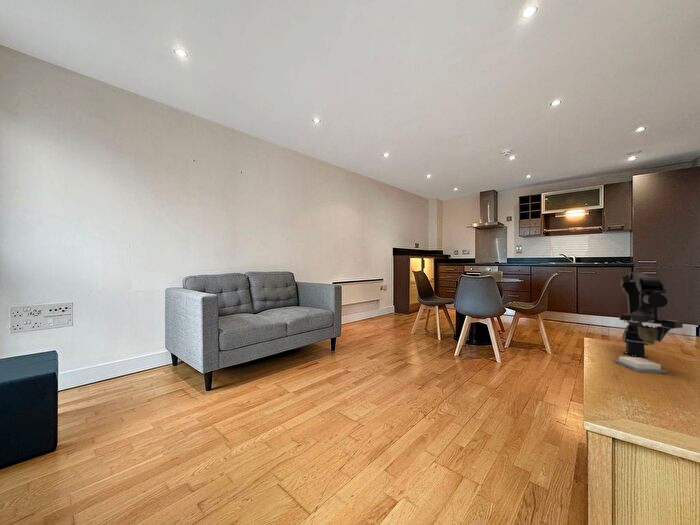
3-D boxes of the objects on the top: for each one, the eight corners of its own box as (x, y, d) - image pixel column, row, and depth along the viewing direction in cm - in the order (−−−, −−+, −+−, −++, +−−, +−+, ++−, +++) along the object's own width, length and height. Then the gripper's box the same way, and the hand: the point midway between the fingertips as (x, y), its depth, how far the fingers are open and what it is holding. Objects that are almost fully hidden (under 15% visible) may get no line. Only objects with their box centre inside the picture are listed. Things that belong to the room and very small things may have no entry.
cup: (649, 342, 125) (649, 325, 125) (667, 347, 118) (666, 328, 118) (632, 341, 126) (632, 324, 126) (648, 346, 118) (648, 327, 118)
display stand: (613, 362, 127) (613, 355, 127) (639, 363, 126) (639, 356, 126) (638, 372, 115) (638, 364, 115) (667, 373, 114) (667, 366, 114)
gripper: (611, 302, 129) (611, 335, 128) (666, 308, 111) (666, 346, 110) (627, 302, 132) (627, 334, 131) (683, 308, 114) (683, 345, 113)
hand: (649, 339), depth 122 cm, fingers closed on cup, 6 cm apart
